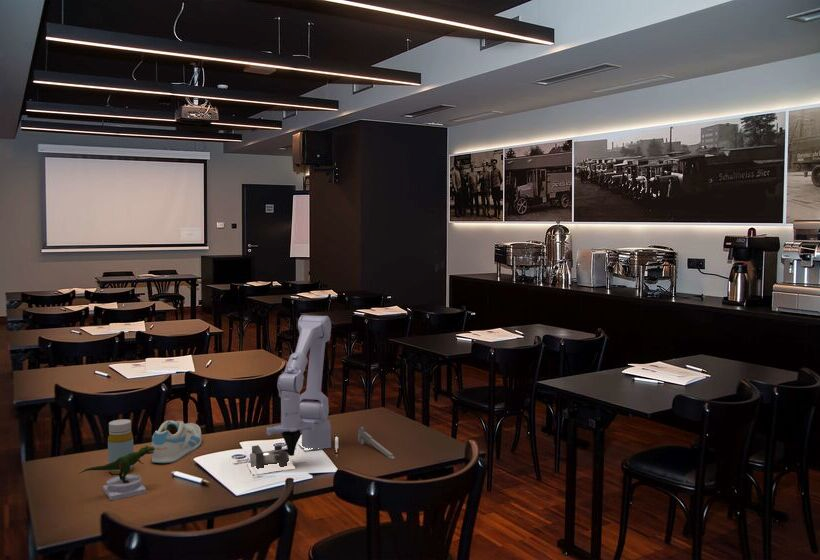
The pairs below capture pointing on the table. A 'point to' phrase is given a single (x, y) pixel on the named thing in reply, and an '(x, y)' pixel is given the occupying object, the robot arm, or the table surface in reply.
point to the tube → (268, 457)
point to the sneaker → (175, 441)
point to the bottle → (119, 441)
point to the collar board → (259, 456)
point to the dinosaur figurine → (124, 476)
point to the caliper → (372, 442)
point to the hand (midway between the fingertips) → (291, 454)
